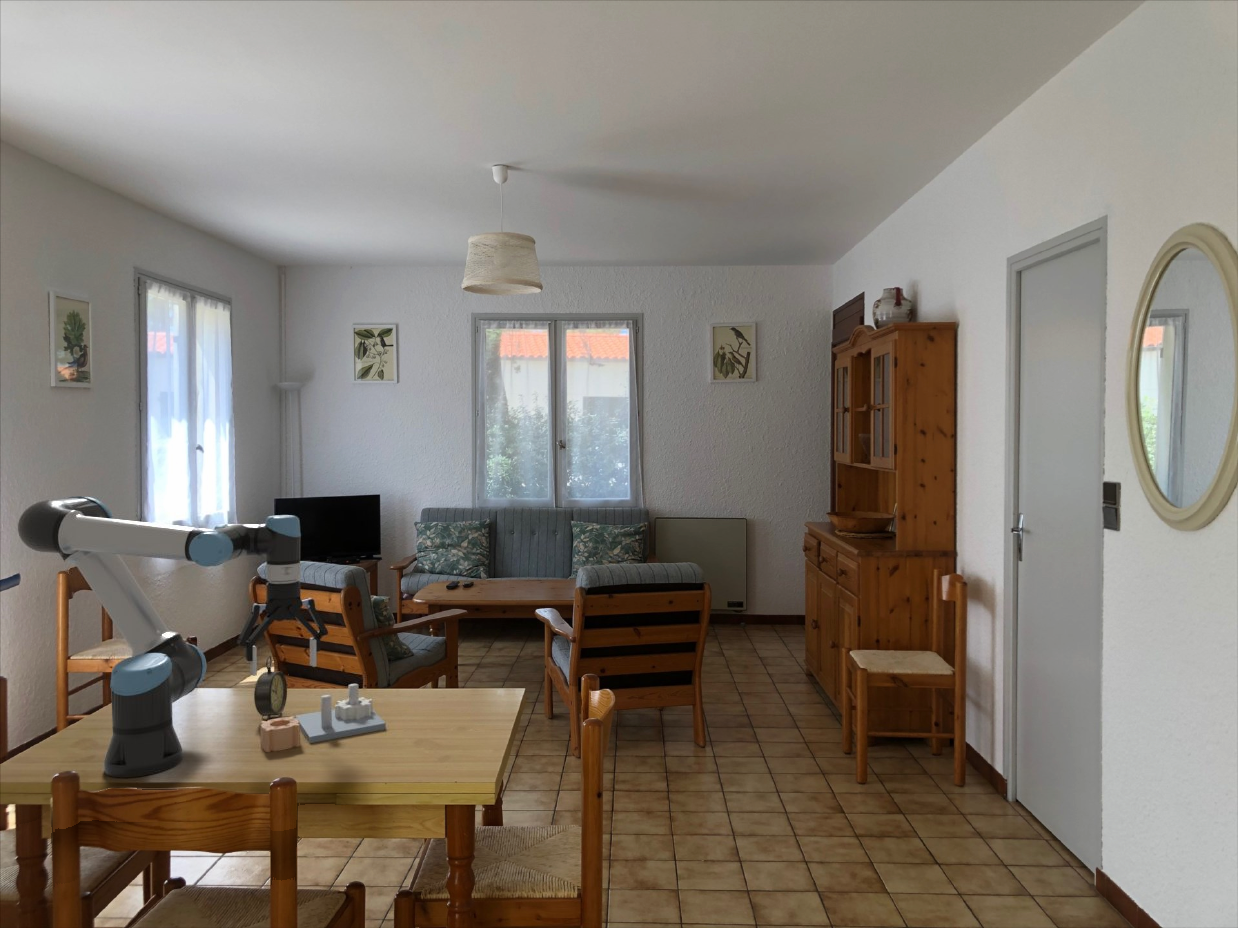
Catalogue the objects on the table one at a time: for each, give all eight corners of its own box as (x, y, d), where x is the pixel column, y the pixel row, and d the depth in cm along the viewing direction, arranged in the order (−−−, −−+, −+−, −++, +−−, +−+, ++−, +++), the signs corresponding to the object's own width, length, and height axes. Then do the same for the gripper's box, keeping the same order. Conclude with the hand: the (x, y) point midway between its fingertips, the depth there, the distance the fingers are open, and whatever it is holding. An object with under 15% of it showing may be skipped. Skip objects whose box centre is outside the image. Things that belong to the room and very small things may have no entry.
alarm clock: (272, 725, 215) (270, 661, 214) (250, 725, 215) (249, 661, 214) (288, 711, 226) (287, 650, 225) (268, 711, 226) (266, 650, 225)
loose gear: (265, 752, 196) (264, 731, 196) (259, 742, 203) (259, 721, 203) (301, 745, 200) (301, 724, 200) (295, 735, 207) (294, 715, 207)
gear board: (309, 743, 202) (308, 705, 202) (295, 721, 218) (294, 686, 217) (385, 728, 211) (385, 692, 211) (366, 709, 227) (366, 675, 227)
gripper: (230, 588, 192) (231, 682, 193) (341, 578, 207) (341, 665, 208) (223, 583, 198) (223, 674, 199) (331, 573, 213) (331, 658, 214)
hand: (283, 669), depth 203 cm, fingers open, 13 cm apart
